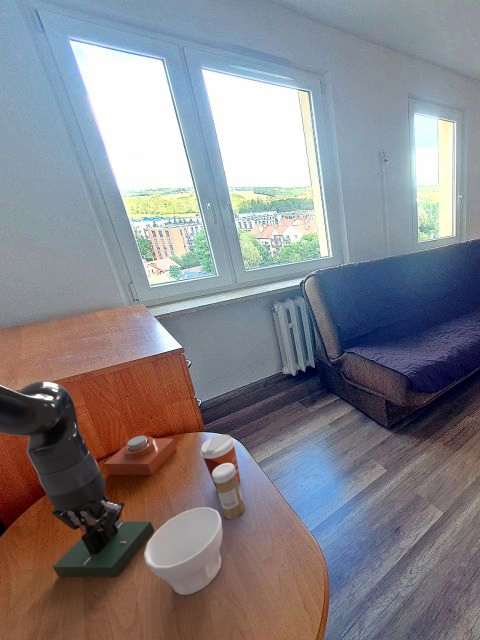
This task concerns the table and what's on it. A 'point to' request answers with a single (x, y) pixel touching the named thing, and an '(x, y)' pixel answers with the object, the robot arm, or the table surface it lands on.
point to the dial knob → (94, 540)
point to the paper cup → (219, 453)
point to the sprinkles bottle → (228, 490)
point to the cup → (187, 550)
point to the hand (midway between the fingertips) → (104, 539)
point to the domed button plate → (141, 458)
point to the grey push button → (137, 443)
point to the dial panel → (105, 552)
